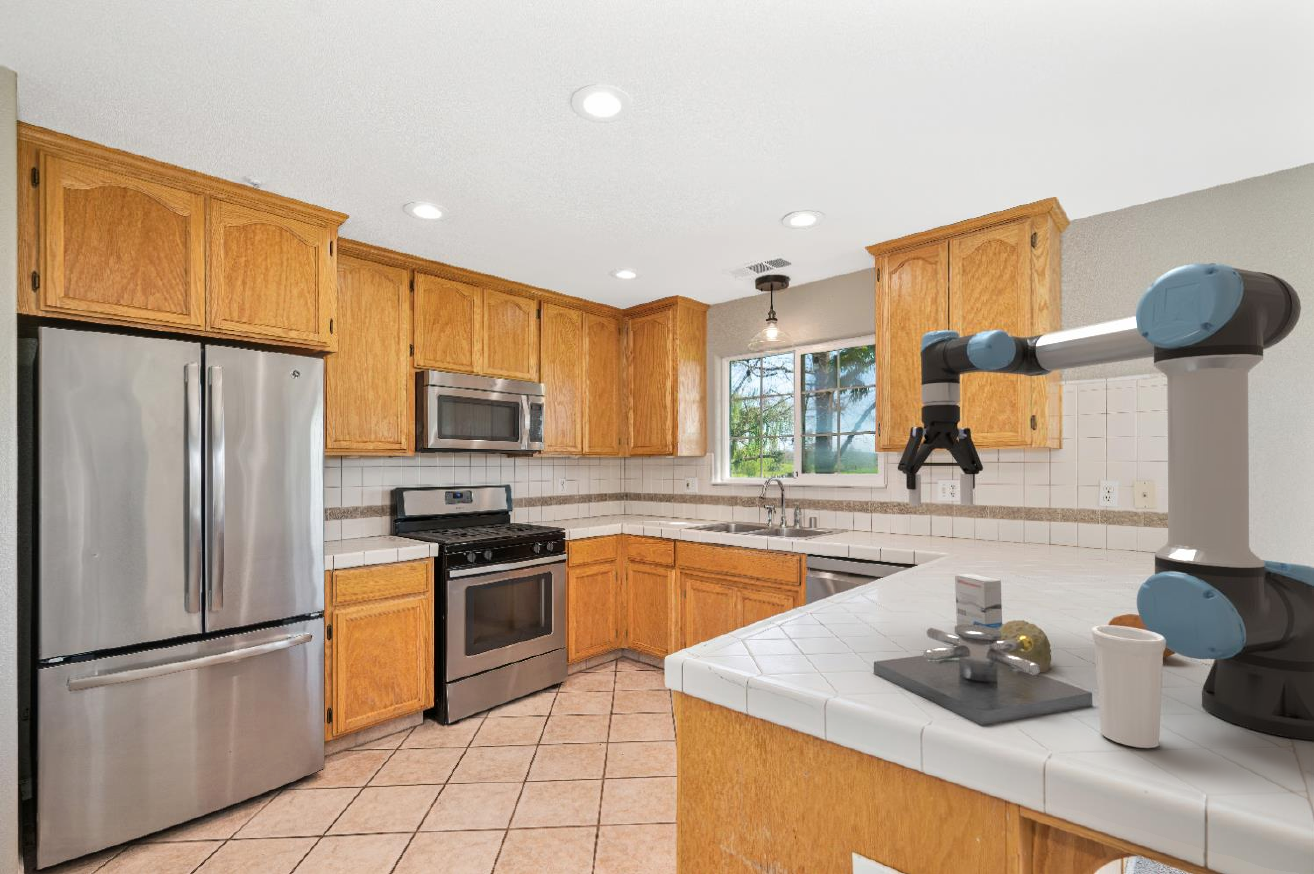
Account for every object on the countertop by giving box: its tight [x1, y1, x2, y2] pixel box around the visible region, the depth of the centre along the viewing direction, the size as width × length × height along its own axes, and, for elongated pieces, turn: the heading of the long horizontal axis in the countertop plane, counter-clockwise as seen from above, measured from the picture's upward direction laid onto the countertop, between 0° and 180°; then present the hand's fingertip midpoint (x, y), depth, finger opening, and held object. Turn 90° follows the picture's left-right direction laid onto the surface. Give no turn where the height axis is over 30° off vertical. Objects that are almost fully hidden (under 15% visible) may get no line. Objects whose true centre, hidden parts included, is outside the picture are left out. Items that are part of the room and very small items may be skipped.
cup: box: [1091, 624, 1166, 749], centre depth 85 cm, size 8×8×14 cm
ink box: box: [954, 573, 1003, 630], centre depth 139 cm, size 9×5×12 cm, turn 17°
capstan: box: [922, 625, 1041, 681], centre depth 104 cm, size 22×22×7 cm
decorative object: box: [997, 620, 1052, 674], centre depth 116 cm, size 9×10×10 cm
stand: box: [873, 654, 1093, 727], centre depth 104 cm, size 23×22×2 cm
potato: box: [1108, 613, 1176, 659], centre depth 122 cm, size 9×11×8 cm
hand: (941, 505), depth 134 cm, fingers open, 13 cm apart
